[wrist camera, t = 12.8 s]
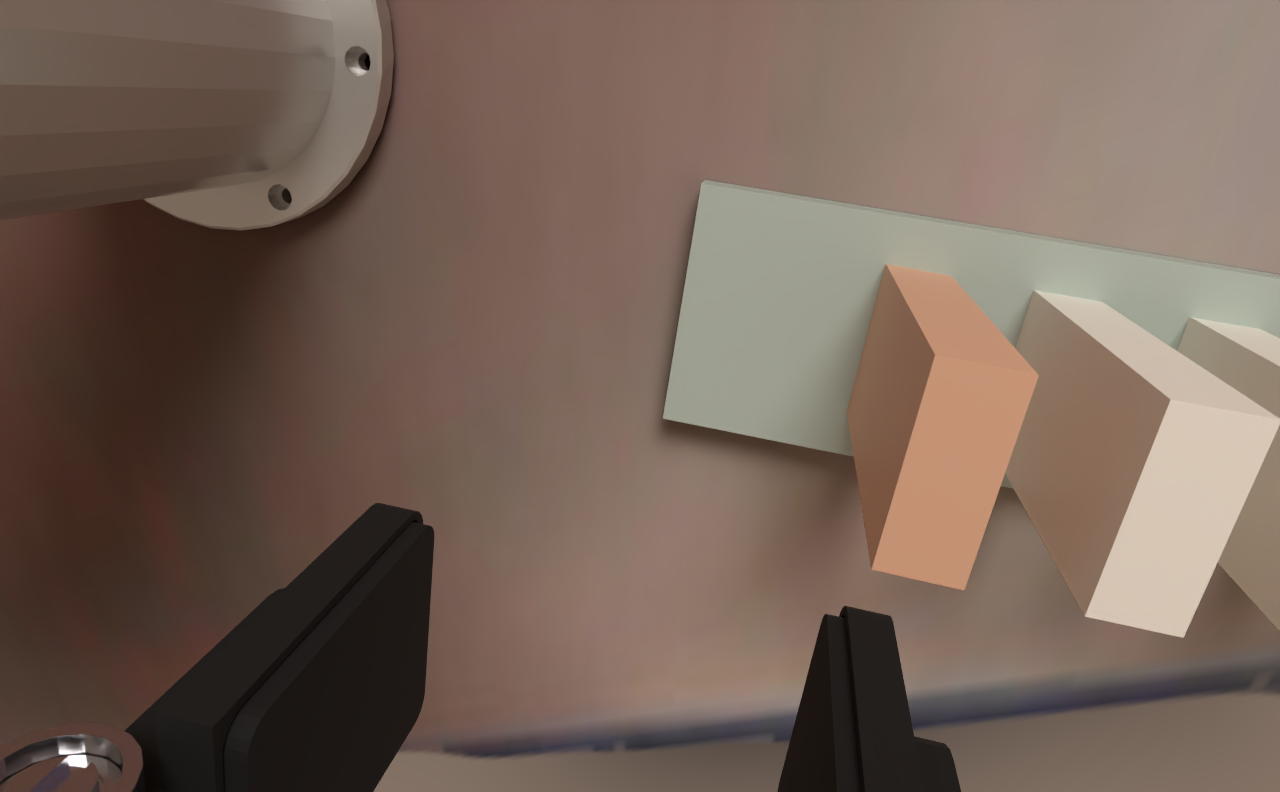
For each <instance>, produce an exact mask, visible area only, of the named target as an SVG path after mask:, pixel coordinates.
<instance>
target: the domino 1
mask: <svg viewBox="0 0 1280 792" xmlns="http://www.w3.org/2000/svg"><path fill="white" fill-rule="evenodd" d="M1038 377H1039V375H1038V374H1037V373H1036V371H1035V370H1034V369H1033V368H1032V367H1031V366H1030V365H1029V363H1028V362H1027V361H1026V360H1025V359H1024V358H1023V357H1022V356H1021V354H1020V353H1019V352H1018V351H1017V350H1016V349H1015V348H1014V346H1013V345H1012V344H1011V343H1010V342H1009V341H1008V340H1007V338H1006V337H1005V336H1004V335H1003V334H1002V333H1001V332H1000V331H999V329H998V328H997V327H996V326H995V325H994V324H993V323H992V321H991V320H990V319H989V318H988V317H987V316H986V315H985V313H984V312H983V311H982V310H981V309H980V308H979V307H978V306H977V304H976V303H975V302H974V301H973V300H972V299H971V298H970V296H969V295H968V294H967V293H966V292H965V291H964V290H963V289H962V287H961V286H960V285H959V284H958V283H957V282H956V281H955V279H954V278H953V277H952V276H949V275H944V274H938V273H933V272H928V271H922V270H917V269H911V268H906V267H901V266H895V265H890V264H886V265H885V269H884V272H883V276H882V280H881V284H880V288H879V291H878V295H877V299H876V303H875V307H874V310H873V314H872V318H871V322H870V326H869V329H868V333H867V337H866V341H865V345H864V348H863V352H862V356H861V360H860V364H859V367H858V371H857V375H856V379H855V383H854V386H853V390H852V394H851V398H850V402H849V405H848V409H847V416H848V423H849V429H850V435H851V442H852V448H853V454H854V461H855V467H856V474H857V480H858V486H859V493H860V499H861V505H862V512H863V518H864V524H865V531H866V537H867V544H868V550H869V556H870V563H871V569H872V570H876V571H880V572H885V573H889V574H894V575H898V576H902V577H907V578H911V579H916V580H920V581H924V582H929V583H933V584H938V585H942V586H946V587H951V588H955V589H960V590H965V587H966V584H967V581H968V579H969V576H970V573H971V570H972V567H973V564H974V561H975V558H976V556H977V553H978V550H979V547H980V544H981V541H982V538H983V535H984V532H985V530H986V527H987V524H988V521H989V518H990V515H991V512H992V509H993V507H994V504H995V501H996V498H997V495H998V492H999V489H1000V486H1001V483H1002V481H1003V478H1004V475H1005V472H1006V469H1007V466H1008V463H1009V460H1010V458H1011V455H1012V452H1013V449H1014V446H1015V443H1016V440H1017V437H1018V434H1019V432H1020V429H1021V426H1022V423H1023V420H1024V417H1025V414H1026V411H1027V409H1028V406H1029V403H1030V400H1031V397H1032V394H1033V391H1034V388H1035V385H1036V383H1037V380H1038Z"/></svg>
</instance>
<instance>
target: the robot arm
mask: <svg viewBox="0 0 1280 792" xmlns="http://www.w3.org/2000/svg"><path fill="white" fill-rule="evenodd" d="M368 54H369V57H370V62H371V64H370V68H369V69H368V68H367V67H366V65H365V58H366V56H367V55H368ZM393 62H394V51H393V40H392V29H391V17H390V13H389V9H388V5H387V1H386V0H0V220H5V219H12V218H19V217H26V216H32V215H39V214H46V213H53V212H59V211H66V210H73V209H80V208H86V207H93V206H100V205H106V204H113V203H120V202H127V201H133V200H140V199H143V200H144V201H146V202H147V203H149V204H150V205H152V206H154V207H156V208H158V209H160V210H162V211H164V212H166V213H168V214H170V215H172V216H174V217H176V218H178V219H180V220H184V221H187V222H191V223H194V224H198V225H201V226H205V227H208V228H215V229H228V230H240V231H242V230H249V229H257V228H264V227H271V226H275V225H279V224H282V223H286V222H289V221H293V220H297V219H299V218H301V217H303V216H305V215H307V214H309V213H311V212H313V211H315V210H317V209H319V208H321V207H323V206H325V205H326V204H327V203H328V202H329V201H331V200H332V199H333V198H334V197H335V196H336V195H338V194H339V193H340V192H341V191H342V190H344V189H345V188H346V187H347V186H348V185H349V184H350V182H351V181H352V180H353V178H354V177H355V176H356V174H357V173H358V172H359V171H360V169H361V168H362V167H363V165H364V164H365V163H366V161H367V160H368V158H369V156H370V154H371V151H372V149H373V147H374V145H375V143H376V141H377V139H378V137H379V135H380V133H381V130H382V127H383V124H384V120H385V116H386V112H387V108H388V104H389V100H390V97H391V89H392V76H393ZM289 192H290V194H291V198H292V199H291V198H290V196H289ZM433 549H434V530H433V528H432V527H431V526H428V525H424V524H423V519H422V515H421V514H420V513H419V512H417V511H413V510H408V509H404V508H399V507H395V506H390V505H386V504H381V503H376V504H374V505H373V506H371V507H370V508H369V509H368V510H367V511H366V512H365V513H364V514H363V515H362V516H361V517H359V518H358V519H357V520H356V521H355V522H354V523H353V524H352V525H351V526H350V527H349V528H348V529H347V530H346V531H345V532H344V533H343V534H342V535H341V536H339V537H338V538H337V539H336V540H335V541H334V542H333V543H332V544H331V545H330V546H329V547H328V548H327V549H326V550H325V551H324V552H323V553H322V554H321V555H319V556H318V557H317V558H316V559H315V560H314V561H313V562H312V563H311V564H310V565H309V566H308V567H307V568H306V569H305V570H304V571H303V572H302V573H301V574H299V575H298V576H297V577H296V578H295V579H294V580H293V581H292V582H291V583H290V584H289V585H288V586H287V587H286V588H283V589H278V590H277V591H275V592H274V593H272V594H271V595H270V596H268V597H267V598H266V599H265V600H264V601H263V602H262V603H261V604H260V605H259V606H258V607H256V608H255V609H254V610H253V611H252V612H251V613H250V614H249V615H248V616H247V617H246V618H245V619H244V620H243V621H242V622H240V623H239V624H238V625H237V626H236V627H235V628H234V629H233V630H232V631H231V632H230V633H229V634H228V635H227V636H226V637H224V638H223V639H222V640H221V641H220V642H219V643H218V644H217V645H216V646H215V647H214V648H213V649H212V650H211V651H209V652H208V653H207V654H206V655H205V656H204V657H203V658H202V659H201V660H200V661H199V662H198V663H197V664H196V665H195V666H193V667H192V668H191V669H190V670H189V671H188V672H187V673H186V674H185V675H184V676H183V677H182V678H181V679H180V680H178V681H177V682H176V683H175V684H174V685H173V686H172V687H171V688H170V689H169V690H168V691H167V692H166V693H165V694H164V695H162V696H161V697H160V698H159V699H158V700H157V701H156V702H155V703H154V704H153V705H152V706H151V707H150V708H149V709H148V710H146V711H145V712H144V713H143V714H142V715H141V716H140V717H139V718H138V719H137V720H136V721H135V722H134V723H133V724H131V725H130V726H129V727H128V728H127V729H126V730H125V731H123V730H121V729H119V728H117V727H115V726H110V725H104V724H98V723H92V722H90V723H74V724H63V725H58V726H54V727H50V728H46V729H42V730H38V731H34V732H32V733H30V734H27V735H25V736H22V737H20V738H18V739H15V740H13V741H11V742H8V743H6V744H4V745H3V746H1V747H0V792H373V791H374V789H375V788H376V786H377V784H378V783H379V781H380V780H381V778H382V776H383V775H384V773H385V771H386V769H387V768H388V766H389V765H390V763H391V762H392V760H393V758H394V757H395V755H396V754H397V752H398V750H399V749H400V747H401V745H402V744H403V742H404V741H405V739H406V737H407V736H408V734H409V732H410V731H411V729H412V728H413V726H414V724H415V722H416V720H417V718H418V716H419V713H420V711H421V708H422V704H423V700H424V694H425V680H426V664H427V647H428V631H429V615H430V598H431V582H432V566H433ZM778 792H961V789H960V785H959V781H958V777H957V773H956V768H955V764H954V760H953V757H952V754H951V751H950V749H949V748H948V747H947V746H946V744H944V743H939V742H935V741H931V740H927V739H923V738H919V737H914V734H913V728H912V723H911V718H910V712H909V707H908V701H907V696H906V690H905V685H904V679H903V674H902V669H901V663H900V658H899V652H898V647H897V641H896V636H895V631H894V625H893V621H892V618H891V617H890V616H888V615H884V614H879V613H875V612H870V611H866V610H861V609H857V608H852V607H848V606H844V607H843V608H842V611H841V613H840V616H839V617H837V616H833V615H828V614H825V615H824V617H823V619H822V622H821V626H820V629H819V633H818V637H817V641H816V645H815V648H814V652H813V656H812V660H811V664H810V667H809V671H808V675H807V679H806V683H805V687H804V690H803V694H802V698H801V702H800V706H799V709H798V713H797V717H796V721H795V725H794V728H793V732H792V736H791V740H790V744H789V748H788V751H787V755H786V760H785V763H784V767H783V771H782V774H781V778H780V782H779V787H778Z"/></svg>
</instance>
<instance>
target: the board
mask: <svg viewBox="0 0 1280 792" xmlns="http://www.w3.org/2000/svg"><path fill="white" fill-rule="evenodd" d="M886 264H890V265H895V266H901V267H906V268H911V269H917V270H922V271H928V272H933V273H938V274H944V275H949V276H952V277H953V278H954V279H955V281H956V282H957V283H958V284H959V285H960V286H961V287H962V289H963V290H964V291H965V292H966V293H967V294H968V295H969V296H970V298H971V299H972V300H973V301H974V302H975V303H976V304H977V306H978V307H979V308H980V309H981V310H982V311H983V312H984V313H985V315H986V316H987V317H988V318H989V319H990V320H991V321H992V323H993V324H994V325H995V326H996V327H997V328H998V329H999V331H1000V332H1001V333H1002V334H1003V335H1004V336H1005V337H1006V338H1007V340H1008V341H1009V342H1010V343H1011V344H1012V345H1013V346H1014V348H1016V344H1017V341H1018V338H1019V335H1020V332H1021V329H1022V326H1023V322H1024V319H1025V316H1026V313H1027V310H1028V307H1029V303H1030V300H1031V297H1032V294H1033V291H1034V290H1036V291H1042V292H1048V293H1054V294H1059V295H1065V296H1071V297H1077V298H1083V299H1088V300H1094V301H1100V302H1103V303H1105V304H1106V305H1108V306H1109V307H1111V308H1112V309H1114V310H1115V311H1117V312H1118V313H1120V314H1121V315H1123V316H1125V317H1126V318H1128V319H1129V320H1131V321H1132V322H1134V323H1135V324H1137V325H1138V326H1140V327H1141V328H1143V329H1144V330H1146V331H1147V332H1149V333H1150V334H1152V335H1153V336H1155V337H1156V338H1158V339H1159V340H1161V341H1163V342H1164V343H1166V344H1167V345H1169V346H1170V347H1172V348H1173V349H1175V350H1176V351H1177V349H1178V346H1179V344H1180V341H1181V339H1182V336H1183V333H1184V331H1185V328H1186V326H1187V323H1188V321H1189V318H1190V317H1193V318H1198V319H1204V320H1210V321H1216V322H1222V323H1227V324H1233V325H1239V326H1245V327H1250V328H1256V329H1262V330H1264V331H1266V332H1268V333H1270V334H1272V335H1274V336H1276V337H1278V338H1280V275H1277V274H1271V273H1265V272H1259V271H1253V270H1247V269H1241V268H1235V267H1229V266H1223V265H1217V264H1211V263H1205V262H1199V261H1193V260H1187V259H1181V258H1175V257H1169V256H1162V255H1156V254H1150V253H1144V252H1138V251H1132V250H1126V249H1120V248H1114V247H1108V246H1102V245H1096V244H1090V243H1084V242H1078V241H1072V240H1066V239H1060V238H1053V237H1047V236H1041V235H1035V234H1029V233H1023V232H1017V231H1011V230H1005V229H999V228H993V227H987V226H981V225H975V224H969V223H963V222H957V221H951V220H945V219H938V218H932V217H926V216H920V215H914V214H908V213H902V212H896V211H890V210H884V209H878V208H872V207H866V206H860V205H854V204H848V203H842V202H836V201H829V200H823V199H817V198H811V197H805V196H799V195H793V194H787V193H781V192H775V191H769V190H763V189H757V188H751V187H745V186H739V185H733V184H727V183H721V182H714V181H708V180H705V181H704V182H702V183H701V189H700V195H699V201H698V207H697V213H696V219H695V226H694V232H693V238H692V244H691V250H690V256H689V262H688V268H687V274H686V280H685V286H684V293H683V299H682V305H681V311H680V317H679V323H678V329H677V335H676V341H675V347H674V353H673V360H672V366H671V372H670V378H669V384H668V390H667V396H666V402H665V408H664V414H663V419H668V420H673V421H678V422H683V423H688V424H693V425H698V426H703V427H708V428H713V429H718V430H723V431H728V432H733V433H738V434H743V435H748V436H753V437H758V438H763V439H768V440H773V441H778V442H782V443H787V444H792V445H797V446H802V447H807V448H812V449H817V450H822V451H827V452H832V453H837V454H842V455H847V456H852V457H854V454H853V448H852V442H851V435H850V429H849V423H848V416H847V409H848V405H849V402H850V398H851V394H852V390H853V386H854V383H855V379H856V375H857V371H858V367H859V364H860V360H861V356H862V352H863V348H864V345H865V341H866V337H867V333H868V329H869V326H870V322H871V318H872V314H873V310H874V307H875V303H876V299H877V295H878V291H879V288H880V284H881V280H882V276H883V272H884V269H885V265H886ZM1001 486H1002V487H1007V488H1012V489H1014V488H1013V487H1012V485H1011V483H1010V481H1009V479H1008V478H1007V476H1006V474H1005V475H1004V478H1003V481H1002V483H1001Z"/></svg>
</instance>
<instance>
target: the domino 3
mask: <svg viewBox="0 0 1280 792" xmlns="http://www.w3.org/2000/svg"><path fill="white" fill-rule="evenodd" d="M1177 351H1178V352H1179V353H1181V354H1182V355H1184V356H1185V357H1187V358H1188V359H1190V360H1191V361H1193V362H1194V363H1196V364H1197V365H1199V366H1201V367H1202V368H1204V369H1205V370H1207V371H1208V372H1210V373H1211V374H1213V375H1214V376H1216V377H1217V378H1219V379H1220V380H1222V381H1223V382H1225V383H1226V384H1228V385H1229V386H1231V387H1232V388H1234V389H1235V390H1237V391H1239V392H1240V393H1242V394H1243V395H1245V396H1246V397H1248V398H1249V399H1251V400H1252V401H1254V402H1255V403H1257V404H1258V405H1260V406H1261V407H1263V408H1264V409H1266V410H1267V411H1269V412H1270V413H1272V414H1274V415H1275V416H1277V417H1278V418H1280V338H1278V337H1276V336H1274V335H1272V334H1270V333H1268V332H1266V331H1264V330H1262V329H1256V328H1250V327H1245V326H1239V325H1233V324H1227V323H1222V322H1216V321H1210V320H1204V319H1198V318H1193V317H1190V318H1189V321H1188V323H1187V326H1186V328H1185V331H1184V333H1183V336H1182V339H1181V341H1180V344H1179V346H1178V349H1177ZM1218 564H1219V565H1220V566H1221V567H1222V568H1223V569H1224V570H1225V572H1226V573H1227V574H1228V575H1229V576H1230V577H1231V578H1232V579H1233V580H1234V581H1235V583H1236V584H1237V585H1238V586H1239V587H1240V588H1241V589H1242V590H1243V591H1244V592H1245V593H1246V595H1247V596H1248V597H1249V598H1250V599H1251V600H1252V601H1253V602H1254V603H1255V604H1256V606H1257V607H1258V608H1259V609H1260V610H1261V611H1262V612H1263V613H1264V614H1265V615H1266V617H1267V618H1268V619H1269V620H1270V621H1271V622H1272V623H1273V624H1274V625H1275V626H1276V628H1277V629H1278V630H1279V631H1280V425H1279V427H1278V430H1277V432H1276V434H1275V436H1274V439H1273V441H1272V443H1271V445H1270V447H1269V450H1268V452H1267V454H1266V456H1265V458H1264V461H1263V463H1262V465H1261V467H1260V470H1259V472H1258V474H1257V476H1256V478H1255V481H1254V483H1253V485H1252V487H1251V489H1250V492H1249V494H1248V496H1247V498H1246V501H1245V503H1244V505H1243V507H1242V509H1241V512H1240V514H1239V516H1238V518H1237V521H1236V523H1235V525H1234V527H1233V529H1232V532H1231V534H1230V536H1229V538H1228V540H1227V543H1226V545H1225V547H1224V549H1223V552H1222V554H1221V556H1220V558H1219V560H1218Z"/></svg>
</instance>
